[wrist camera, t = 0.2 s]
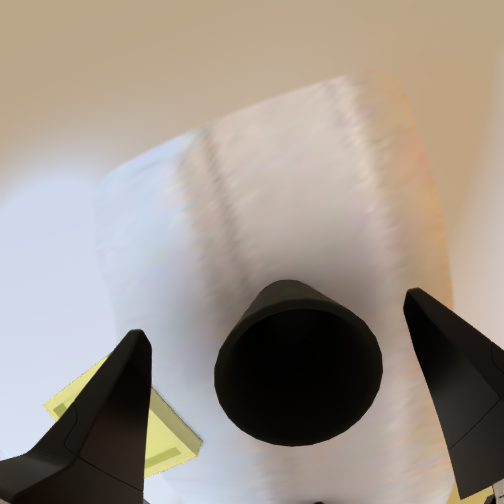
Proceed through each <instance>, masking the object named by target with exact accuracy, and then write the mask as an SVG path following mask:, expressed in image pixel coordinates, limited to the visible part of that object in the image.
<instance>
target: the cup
mask: <svg viewBox="0 0 504 504" xmlns="http://www.w3.org/2000/svg"><path fill="white" fill-rule="evenodd" d="M382 374H383V365H382V353H381V350H380V348H379V345H378V342H377V339H376V337H375V335H374V334H373V333H372V331H371V330H370V329H369V327H368V326H367V324H366V323H365V322H364V321H363V320H362V319H360V318H359V317H358V316H356V315H355V314H354V313H353V312H351V311H350V310H349V309H347V308H345V307H343V306H342V305H340V304H338V303H337V302H335V301H333V300H332V299H330V298H328V297H326V296H325V295H323V294H321V293H320V292H318V291H316V290H315V289H313V288H311V287H309V286H308V285H306V284H304V283H301V282H299V281H295V280H280V281H277V282H274V283H272V284H270V285H269V286H267V287H265V288H264V289H263V290H262V291H261V292H260V293H259V295H258V296H257V297H256V299H255V300H254V301H253V303H252V304H251V306H250V307H249V308H248V310H247V311H246V312H245V314H244V315H243V316H242V318H241V319H240V320H239V322H238V323H237V324H236V326H235V327H234V328H233V330H232V331H231V332H230V334H229V336H228V337H227V339H226V340H225V342H224V344H223V345H222V347H221V349H220V350H219V354H218V357H217V361H216V364H215V368H214V386H215V390H216V393H217V397H218V400H219V403H220V405H221V407H222V408H223V410H224V412H225V413H226V415H227V416H228V418H229V419H230V420H231V421H232V422H233V423H234V424H235V425H236V426H237V427H238V428H239V429H241V430H242V431H244V432H245V433H247V434H249V435H250V436H252V437H254V438H255V439H258V440H261V441H264V442H267V443H270V444H273V445H281V446H290V447H295V446H306V445H313V444H316V443H320V442H323V441H326V440H330V439H331V438H333V437H335V436H337V435H339V434H341V433H343V432H345V431H346V430H348V429H349V428H350V427H351V426H353V425H354V424H355V423H356V422H358V421H359V420H360V419H361V418H362V416H363V415H364V414H365V413H366V412H367V410H368V409H369V408H370V406H371V405H372V403H373V401H374V399H375V397H376V395H377V393H378V391H379V388H380V384H381V379H382Z"/></svg>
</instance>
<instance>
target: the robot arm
mask: <svg viewBox="0 0 504 504" xmlns="http://www.w3.org/2000/svg"><path fill="white" fill-rule="evenodd" d="M403 311H404V315H405V319H406V322H407V325H408V329H409V332H410V336H411V340H412V343H413V347H414V350H415V353H416V356H417V358H418V361H419V364H420V366H421V369H422V372H423V374H424V377H425V380H426V383H427V385H428V388H429V391H430V394H431V397H432V400H433V403H434V406H435V409H436V412H437V415H438V418H439V421H440V424H441V428H442V431H443V434H444V438H445V441H446V445H447V448H448V450H449V451H448V452H449V456H450V459H451V463H452V467H453V471H454V475H455V479H456V483H457V487H458V492H459V496H460V499H461V500H462V499H464V498H467V497H469V496H471V495H473V494H475V493H477V492H479V491H481V490H483V489H485V488H487V487H489V486H491V485H492V488H493V492H494V494H492V495H490V496H488V497H487V499H486V501H485V503H484V504H504V350H503V349H501V348H500V347H499V346H498V345H496V344H495V343H494V342H491V340H490V339H488V338H487V337H486V336H485V335H483V334H482V333H481V332H479V331H478V330H477V329H475V328H474V327H473V326H471V325H470V324H469V323H467V322H466V321H465V320H463V319H462V318H461V317H459V316H458V315H457V314H455V313H454V312H453V311H451V310H450V309H448V308H447V307H446V306H444V305H443V304H442V303H440V302H439V301H437V300H436V299H435V298H433V297H432V296H430V295H429V294H428V293H426V292H425V291H423V290H422V289H420V288H412V289H409V290H408V291H407V293H406V297H405V301H404V306H403ZM151 384H152V347H151V344H150V342H149V340H148V338H147V337H146V335H145V333H144V332H143V330H141V329H134V330H130V331H129V332H128V333H127V334H126V336H125V337H124V338H123V339H122V341H121V342H120V343H119V344H118V345H117V347H116V348H115V349H114V351H113V352H112V353H111V354H110V355H109V356H108V358H107V359H106V360H105V361H104V363H103V364H102V365H101V366H100V368H99V369H98V370H97V371H96V373H95V374H94V375H93V376H92V378H91V379H90V380H89V382H88V383H87V384H86V385H85V387H84V388H83V389H82V390H81V392H80V393H79V394H78V396H77V397H76V398H75V399H74V401H73V402H72V403H71V404H70V406H69V407H68V408H67V410H66V411H65V412H64V413H63V415H62V416H61V417H60V418H59V419H58V421H57V422H56V423H55V424H54V425H53V426H52V427H51V428H50V430H49V431H48V432H47V433H46V434H45V435H44V436H43V437H42V438H41V439H40V440H39V442H38V443H37V444H36V445H35V446H34V447H33V448H32V449H31V450H29V451H28V452H27V453H25V454H23V455H20V456H17V457H13V458H9V459H6V460H2V461H0V504H143V489H144V469H145V454H146V440H147V428H148V417H149V407H150V398H151ZM316 504H323V503H316Z"/></svg>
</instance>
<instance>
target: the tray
mask: <svg viewBox="0 0 504 504" xmlns="http://www.w3.org/2000/svg"><path fill="white" fill-rule="evenodd" d="M112 352H113V351H112ZM112 352H111V353H112ZM111 353H110V354H111ZM110 354H109V355H110ZM109 355H107V356H106V357H105V358H103V359H102V360H101V361H99V362H98V363H97V364H95V365H94V366H93V367H91V368H90V369H89V370H88V371H87V372H85V373H84V374H82V375H81V376H80V377H78V378H77V379H76V380H75V381H73V382H72V383H71V384H69V385H68V386H67V387H66V388H64V389H63V390H62V391H60V392H59V393H58V394H56V395H55V396H54V397H53V398H51V399H50V400H49V401H47V402H46V403H45V404H44V405H43V406H44V407H45V409H46V410H47V411H48V412H49V414H50V415H51V416H52V417H53V419H54V420H55V421H56V422H57V421H58V419H59V418H60V417H61V416H62V415H63V413H64V412H65V411H66V410H67V408H68V407H69V406H70V404H71V403H72V402H73V401H74V399H75V398H76V397H77V396H78V394H79V393H80V392H81V390H82V389H83V388H84V387H85V385H86V384H87V383H88V382H89V380H90V379H91V378H92V376H93V375H94V374H95V373H96V371H97V370H98V369H99V368H100V366H101V365H102V364H103V363H104V361H105V360H106V359H107V358H108V356H109ZM201 444H202V440H201V439H200V438H199V437H198V436H197V435H196V434H195V433H194V432H193V431H192V430H191V429H190V428H189V427H188V426H187V425H186V424H185V423H184V422H183V421H182V420H181V419H180V418H179V417H178V416H177V415H176V414H175V413H174V412H173V411H172V409H171V408H170V407H169V406H168V405H167V404H166V403H165V402H164V401H163V400H162V398H161V397H160V396H159V395H158V394H157V393H156V392H155V390H154V389H153V388H152V387H151V398H150V407H149V417H148V428H147V440H146V454H145V469H144V478H146V477H149V476H151V475H154V474H156V473H159V472H162V471H164V470H167V469H169V468H172V467H174V466H177V465H179V464H181V463H184V462H186V461H188V460H191V459H193V458H195V457H197V456H198V453H199V450H200V447H201Z"/></svg>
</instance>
